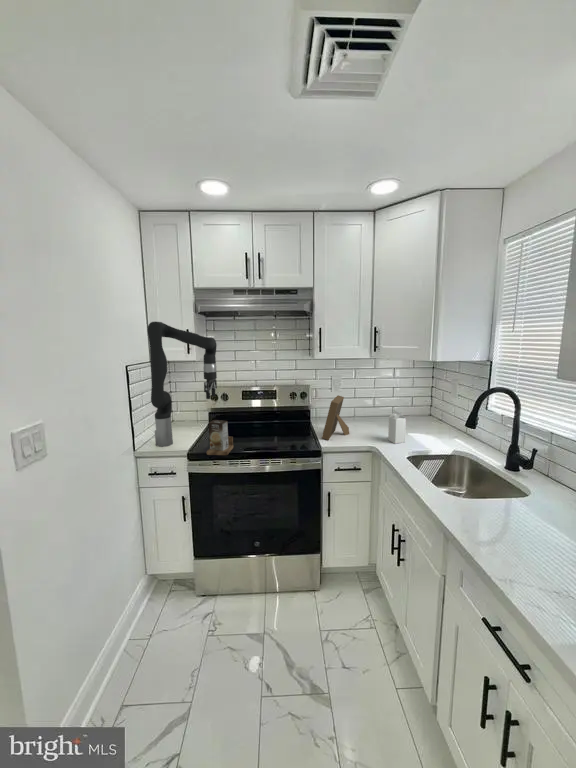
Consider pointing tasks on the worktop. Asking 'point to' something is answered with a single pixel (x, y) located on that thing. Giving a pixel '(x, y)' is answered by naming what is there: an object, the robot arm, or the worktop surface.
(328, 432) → the photo frame
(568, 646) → the worktop surface
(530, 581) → the worktop surface
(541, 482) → the worktop surface
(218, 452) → the ledge
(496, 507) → the worktop surface
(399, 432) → the milk carton
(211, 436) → the coffee box
